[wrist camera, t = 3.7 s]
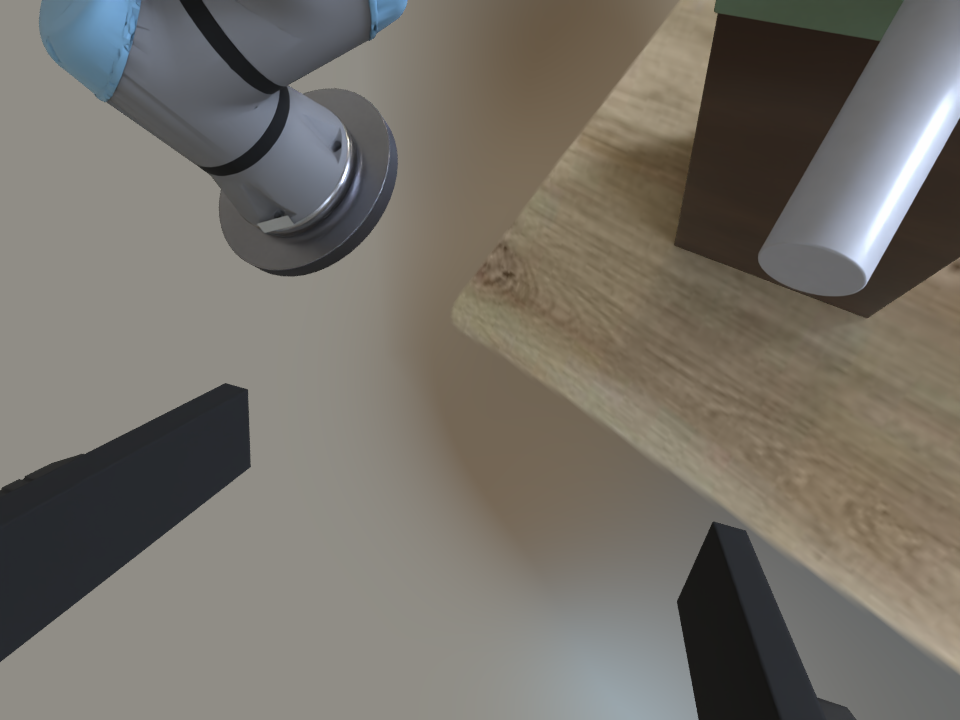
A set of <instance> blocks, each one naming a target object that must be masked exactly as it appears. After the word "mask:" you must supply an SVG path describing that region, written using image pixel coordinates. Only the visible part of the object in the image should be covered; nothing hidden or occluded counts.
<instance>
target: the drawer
mask: <svg viewBox="0 0 960 720" xmlns="http://www.w3.org/2000/svg"><path fill="white" fill-rule="evenodd" d="M714 12H715V13H720V14H726V15H732V16H737V17H743V18H749V19H755V20H761V21H766V22H772V23H778V24H784V25H790V26H795V27H801V28H807V29H813V30H819V31H824V32H830V33H836V34H842V35H848V36H854V37H859V38H865V39H871V40H877V41H880V43H879V44H878V46H877V48H876V50H875V51H874V53H873V55H872V57H871V58H870V60H869V62H868V64H867V65H866V67H865V69H864V70H863V72H862V74H861V76H860V77H859V79H858V81H857V83H856V84H855V86H854V88H853V90H852V91H851V93H850V95H849V97H848V98H847V100H846V102H845V104H844V105H843V107H842V109H841V110H840V112H839V114H838V116H837V117H836V119H835V121H834V123H833V124H832V126H831V128H830V130H829V131H828V133H827V135H826V137H825V138H824V140H823V142H822V144H821V145H820V147H819V149H818V150H817V152H816V154H815V156H814V157H813V159H812V161H811V163H810V164H809V166H808V168H807V170H806V171H805V173H804V175H803V177H802V178H801V180H800V182H799V184H798V185H797V187H796V189H795V191H794V192H793V194H792V196H791V197H790V199H789V201H788V203H787V204H786V206H785V208H784V210H783V211H782V213H781V215H780V217H779V218H778V220H777V222H776V224H775V225H774V227H773V229H772V231H771V232H770V234H769V236H768V237H767V239H766V241H765V243H764V244H763V246H762V248H761V250H760V251H759V254H758V262H759V264H760V266H761V268H762V269H763V270H764V271H765V272H766V273H767V274H768V275H769V276H771V277H772V278H773V279H775V280H777V281H778V282H780V283H782V284H784V285H786V286H788V287H791V288H793V289H796V290H799V291H803V292H806V293H811V294H816V295H823V296H845V295H850V294H854V293H856V292H858V291H860V290H861V289H863V288H864V287H865V286H866V284H867V282H868V280H869V279H870V277H871V275H872V273H873V272H874V270H875V268H876V266H877V264H878V263H879V261H880V259H881V257H882V256H883V254H884V252H885V250H886V248H887V247H888V245H889V243H890V241H891V239H892V238H893V236H894V234H895V232H896V231H897V229H898V227H899V225H900V223H901V222H902V220H903V218H904V216H905V214H906V213H907V211H908V209H909V207H910V206H911V204H912V202H913V200H914V198H915V197H916V195H917V193H918V191H919V190H920V188H921V186H922V184H923V182H924V181H925V179H926V177H927V175H928V173H929V172H930V170H931V168H932V166H933V165H934V163H935V161H936V159H937V157H938V156H939V154H940V152H941V150H942V149H943V147H944V145H945V143H946V141H947V140H948V138H949V136H950V134H951V132H952V131H953V129H954V127H955V125H956V124H957V122H958V120H959V118H960V0H716V3H715V8H714Z"/></svg>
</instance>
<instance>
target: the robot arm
mask: <svg viewBox="0 0 960 720" xmlns="http://www.w3.org/2000/svg"><path fill="white" fill-rule="evenodd" d="M406 5H407V0H42V2H41V8H40V17H39V29H40V35H41V39H42V42H43V44H44V47H45V48H46V50H47V52H48V54H49V55H50V56H51V58H52V59H53V60H54V61H55V62H56V63H57V64H58V65H59V66H60V67H62V68H63V69H64V70H65V71H67V72H68V73H69V74H71V75H72V76H73V77H74V78H75V79H77V80H78V81H79V82H81V83H82V84H83V85H84V86H85V87H87V88H88V89H89V90H90V91H92V92H93V93H94V94H95V96H96V97H97V98H98V99H99V100H101V101H104V102H107V103H108V104H110V105H111V106H113V107H114V108H116V109H117V110H119V111H120V112H121V113H123V114H124V115H126V116H127V117H129V118H130V119H131V120H133V121H134V122H136V123H137V124H139V125H140V126H142V127H143V128H144V129H146V130H147V131H149V132H150V133H152V134H153V135H154V136H156V137H157V138H159V139H160V140H161V141H163V142H164V143H166V144H167V145H169V146H170V147H171V148H173V149H174V150H176V151H177V152H178V153H180V154H181V155H183V156H185V157H186V158H187V159H188V160H190V161H191V162H193V163H194V164H196V165H197V166H199V167H200V168H201V169H203V170H204V171H205V172H207V173H208V174H210V175H211V176H212V178H213V179H214V180H215V182H216V183H217V184H218V186H219V187H220V188H221V190H222V191H223V192H224V194H225V195H226V196H227V197H228V199H229V200H230V201H231V203H232V204H233V205H234V207H235V208H236V209H237V211H238V212H239V213H240V214H241V216H242V217H243V218H244V219H245V220H246V221H247V222H249V223H250V224H252V225H253V226H255V227H256V228H258V229H259V230H261V231H262V232H264V233H266V234H269V235H272V236H278V237H287V236H294V235H298V234H301V233H304V232H306V231H308V230H310V229H312V228H314V227H316V226H317V225H319V224H320V223H321V222H323V221H324V220H325V219H326V218H328V217H329V216H330V215H331V214H332V213H333V212H334V211H335V210H336V208H337V207H338V206H339V205H340V203H341V202H342V201H343V199H344V198H345V196H346V194H347V193H348V191H349V189H350V187H351V184H352V182H353V179H354V176H355V172H356V167H357V147H356V143H355V140H354V138H353V136H352V134H351V132H350V131H349V130H348V128H347V127H346V126H345V125H344V124H343V122H342V121H341V120H340V119H339V118H338V117H337V115H335V114H334V113H333V112H331V111H330V110H328V109H326V108H325V107H323V106H321V105H320V104H318V103H316V102H315V101H313V100H311V99H310V98H308V97H306V96H305V95H303V94H302V93H300V92H298V91H296V90H295V89H293V88H292V87H290V86H288V85H289V84H291V83H292V82H294V81H296V80H298V79H300V78H302V77H303V76H305V75H307V74H309V73H310V72H312V71H314V70H316V69H317V68H319V67H321V66H323V65H325V64H327V63H328V62H330V61H332V60H334V59H335V58H337V57H339V56H341V55H343V54H344V53H346V52H348V51H350V50H352V49H353V48H355V47H357V46H359V45H361V44H362V43H364V42H366V41H368V40H369V41H370V40H372V39H373V38H374V37H375V36H376V34H377V33H378V32H379V31H381V30H382V29H384V28H385V27H387V26H388V25H390V24H391V23H392V22H394V21H395V20H397V19H398V18H399V17H400V16H401V15H402V13H403V11H404V10H405V8H406ZM249 440H250V438H249V410H248V390H247V389H244V388H240V387H237V386H233V385H230V384H226V383H225V384H223V385H221V386H219V387H217V388H215V389H213V390H211V391H209V392H207V393H205V394H203V395H201V396H199V397H197V398H195V399H193V400H191V401H189V402H187V403H185V404H183V405H181V406H179V407H177V408H176V409H173V410H171V411H169V412H167V413H165V414H164V415H161V416H159V417H158V418H155V419H153V420H151V421H149V422H148V423H146V424H144V425H142V426H140V427H138V428H136V429H134V430H132V431H130V432H128V433H126V434H124V435H122V436H120V437H118V438H116V439H114V440H112V441H110V442H108V443H106V444H104V445H102V446H100V447H98V448H96V449H94V450H92V451H90V452H88V453H86V454H80V455H77V456H74V457H70V458H67V459H64V460H61V461H57V462H54V463H51V464H49V465H47V466H45V467H43V468H41V469H39V470H37V471H35V472H33V473H31V474H29V475H27V476H25V478H24V479H23V480H20V479H19V480H16V481H14V482H13V483H10V484H9V485H6V486H4V487H2V490H0V662H1V661H2V660H3V659H5V658H6V657H7V656H9V655H10V654H11V653H12V652H14V651H15V650H16V649H17V648H19V647H20V646H21V645H23V644H24V643H25V642H26V641H28V640H29V639H30V638H31V637H33V636H34V635H35V634H37V633H38V632H39V631H40V630H42V629H43V628H44V627H46V626H47V625H48V624H50V623H51V622H52V621H53V620H55V619H56V618H57V617H59V616H60V615H61V614H62V613H63V612H65V611H66V610H68V609H69V608H70V607H71V606H73V605H74V604H75V603H76V602H78V601H79V600H80V599H82V598H83V597H84V596H86V595H87V594H88V593H89V592H91V591H92V590H93V589H94V588H96V587H97V586H98V585H100V584H101V583H102V582H103V581H105V580H106V579H107V578H108V577H110V576H111V575H112V574H114V573H115V572H116V571H118V570H119V569H120V568H121V567H123V566H124V565H125V564H127V563H128V562H129V561H130V560H132V559H133V558H134V557H136V556H137V555H138V554H139V553H141V552H142V551H143V550H145V549H146V548H147V547H148V546H150V545H151V544H152V543H153V542H155V541H156V540H157V539H159V538H160V537H161V536H163V535H164V534H165V533H166V532H168V531H169V530H170V529H172V528H173V527H174V526H175V525H177V524H178V523H179V522H180V521H181V520H183V519H184V518H186V517H187V516H188V515H189V514H190V513H192V512H193V511H195V510H196V509H197V508H198V507H200V506H201V505H202V504H203V503H205V502H206V501H207V500H209V499H210V498H211V497H212V496H214V495H215V494H216V493H217V492H219V491H220V490H221V489H223V488H224V487H225V486H227V485H228V484H229V483H230V482H232V481H233V480H234V479H235V478H237V477H238V476H239V475H241V474H242V473H243V472H245V471H246V470H247V469H249V468H250V467H251V465H250V441H249ZM677 604H678V610H679V615H680V621H681V626H682V631H683V637H684V642H685V647H686V653H687V658H688V664H689V669H690V675H691V680H692V686H693V691H694V696H695V702H696V707H697V713H698V718H699V720H856V719H855V717H854V716H853V715H852V713H851V712H850V711H849V710H848V708H847V707H844V706H841V705H838V704H835V703H832V702H829V701H826V700H823V699H820V698H817V697H816V694H815V692H814V689H813V687H812V685H811V682H810V680H809V678H808V675H807V673H806V671H805V669H804V666H803V664H802V662H801V659H800V657H799V654H798V652H797V650H796V647H795V645H794V643H793V640H792V638H791V635H790V633H789V631H788V629H787V626H786V624H785V622H784V619H783V617H782V614H781V612H780V610H779V607H778V605H777V603H776V600H775V598H774V596H773V594H772V591H771V589H770V586H769V584H768V582H767V579H766V577H765V575H764V572H763V570H762V568H761V566H760V563H759V561H758V558H757V556H756V553H755V551H754V549H753V546H752V544H751V542H750V540H749V537H748V535H747V533H746V531H745V530H741V529H738V528H734V527H731V526H727V525H724V524H720V523H716V522H713V523H712V525H711V527H710V529H709V532H708V534H707V536H706V538H705V541H704V543H703V545H702V547H701V549H700V552H699V554H698V556H697V558H696V560H695V563H694V565H693V567H692V569H691V572H690V574H689V576H688V578H687V580H686V583H685V585H684V587H683V589H682V592H681V594H680V596H679V598H678V600H677Z"/></svg>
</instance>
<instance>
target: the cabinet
mask: <svg viewBox="0 0 960 720" xmlns="http://www.w3.org/2000/svg"><path fill="white" fill-rule="evenodd" d="M879 43H880V41H877V40H871V39H865V38H859V37H854V36H848V35H842V34H836V33H830V32H824V31H819V30H813V29H807V28H801V27H795V26H790V25H784V24H778V23H772V22H766V21H761V20H755V19H749V18H743V17H737V16H732V15H726V14H720V13H718V15H717V21H716V26H715V31H714V37H713V42H712V47H711V53H710V58H709V63H708V69H707V74H706V79H705V85H704V90H703V95H702V101H701V106H700V111H699V117H698V122H697V127H696V133H695V138H694V143H693V149H692V154H691V159H690V165H689V170H688V175H687V180H686V186H685V191H684V196H683V202H682V207H681V212H680V218H679V223H678V228H677V234H676V239H675V246H678V247H681V248H683V249H686V250H689V251H691V252H694V253H696V254H699V255H702V256H704V257H707V258H710V259H712V260H715V261H718V262H720V263H723V264H725V265H728V266H731V267H733V268H736V269H739V270H741V271H744V272H747V273H749V274H752V275H754V276H757V277H760V278H762V279H765V280H768V281H770V282H773V283H776V284H778V285H781V286H783V287H786V288H789V289H791V290H794V291H797V292H799V293H802V294H805V295H807V296H810V297H812V298H815V299H818V300H820V301H823V302H826V303H828V304H831V305H834V306H836V307H839V308H841V309H844V310H847V311H849V312H852V313H855V314H857V315H860V316H863V317H865V318H868V317H870V316H871V315H873V314H874V313H876V312H877V311H879V310H880V309H882V308H883V307H885V306H886V305H888V304H889V303H891V302H892V301H894V300H896V299H897V298H899V297H900V296H902V295H903V294H905V293H906V292H908V291H909V290H911V289H912V288H914V287H915V286H917V285H918V284H920V283H921V282H923V281H924V280H926V279H927V278H929V277H930V276H932V275H933V274H935V273H936V272H938V271H939V270H941V269H942V268H944V267H946V266H947V265H949V264H950V263H952V262H953V261H955V260H956V259H958V258H959V257H960V118H959V120H958V122H957V124H956V125H955V127H954V129H953V131H952V132H951V134H950V136H949V138H948V140H947V141H946V143H945V145H944V147H943V149H942V150H941V152H940V154H939V156H938V157H937V159H936V161H935V163H934V165H933V166H932V168H931V170H930V172H929V173H928V175H927V177H926V179H925V181H924V182H923V184H922V186H921V188H920V190H919V191H918V193H917V195H916V197H915V198H914V200H913V202H912V204H911V206H910V207H909V209H908V211H907V213H906V214H905V216H904V218H903V220H902V222H901V223H900V225H899V227H898V229H897V231H896V232H895V234H894V236H893V238H892V239H891V241H890V243H889V245H888V247H887V248H886V250H885V252H884V254H883V256H882V257H881V259H880V261H879V263H878V264H877V266H876V268H875V270H874V272H873V273H872V275H871V277H870V279H869V280H868V282H867V284H866V286H865V287H864V288H863V289H861V290H860V291H858V292H856V293H854V294H850V295H845V296H823V295H816V294H811V293H806V292H803V291H799V290H796V289H793V288H791V287H788V286H786V285H784V284H782V283H780V282H778V281H777V280H775V279H773V278H772V277H771V276H769V275H768V274H767V273H766V272H765V271H764V270H763V269H762V268H761V266H760V264H759V262H758V254H759V251H760V250H761V248H762V246H763V244H764V243H765V241H766V239H767V237H768V236H769V234H770V232H771V231H772V229H773V227H774V225H775V224H776V222H777V220H778V218H779V217H780V215H781V213H782V211H783V210H784V208H785V206H786V204H787V203H788V201H789V199H790V197H791V196H792V194H793V192H794V191H795V189H796V187H797V185H798V184H799V182H800V180H801V178H802V177H803V175H804V173H805V171H806V170H807V168H808V166H809V164H810V163H811V161H812V159H813V157H814V156H815V154H816V152H817V150H818V149H819V147H820V145H821V144H822V142H823V140H824V138H825V137H826V135H827V133H828V131H829V130H830V128H831V126H832V124H833V123H834V121H835V119H836V117H837V116H838V114H839V112H840V110H841V109H842V107H843V105H844V104H845V102H846V100H847V98H848V97H849V95H850V93H851V91H852V90H853V88H854V86H855V84H856V83H857V81H858V79H859V77H860V76H861V74H862V72H863V70H864V69H865V67H866V65H867V64H868V62H869V60H870V58H871V57H872V55H873V53H874V51H875V50H876V48H877V46H878V44H879Z"/></svg>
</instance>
